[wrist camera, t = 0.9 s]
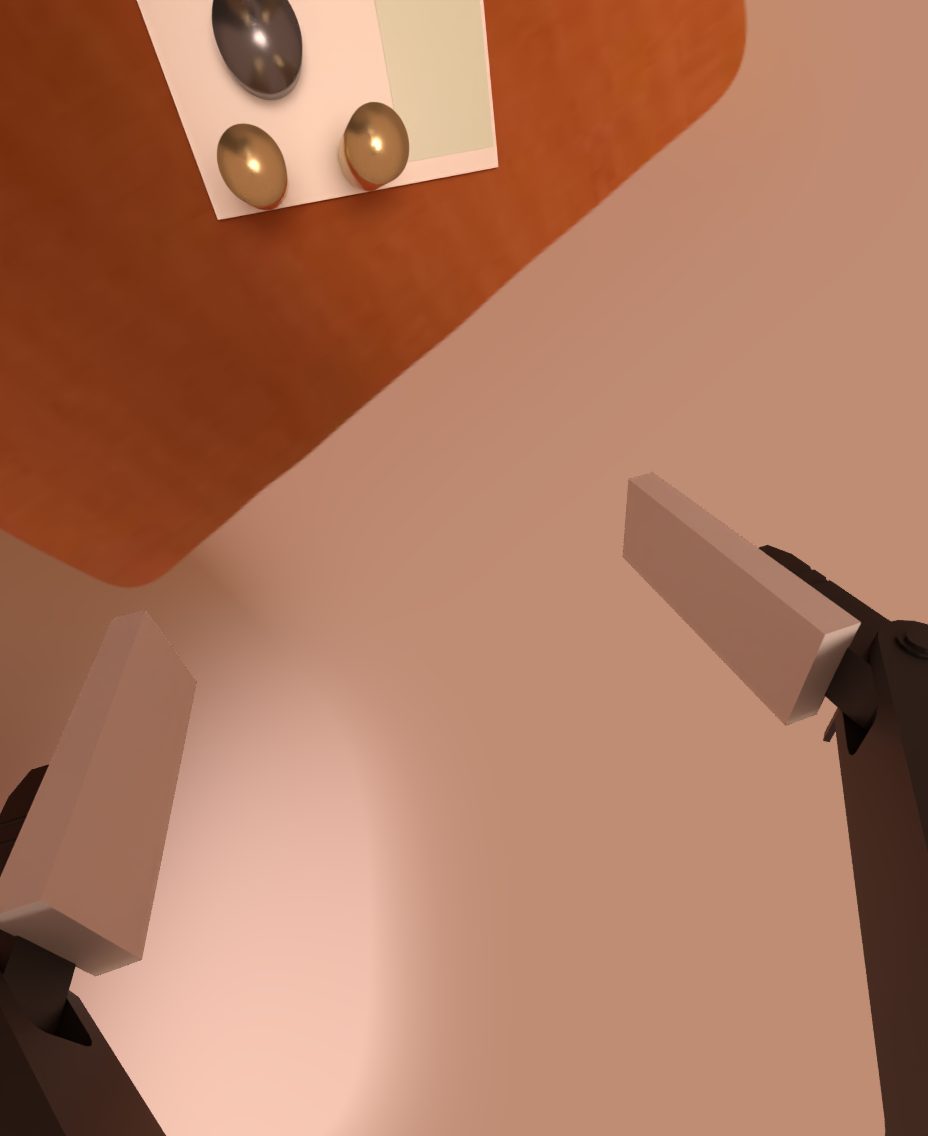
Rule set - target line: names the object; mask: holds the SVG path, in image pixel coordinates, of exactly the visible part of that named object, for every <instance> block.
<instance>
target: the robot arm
mask: <svg viewBox="0 0 928 1136" xmlns="http://www.w3.org/2000/svg"><path fill="white" fill-rule="evenodd" d="M623 558H624V559H625V560H626V561H627V562H628V563H629V564H630V565H631V566H632V567H633V568H634V569H635V570H636V571H637V572H638V573H639V574H640V575H641V576H642V577H643V578H644V579H645V580H646V581H647V582H648V583H649V584H650V585H651V586H652V588H653V589H654V590H655V591H656V592H657V593H658V594H659V595H660V596H661V597H662V598H663V599H664V600H665V601H666V602H667V603H668V604H669V605H670V606H671V607H672V608H673V609H674V610H675V611H676V612H677V613H678V614H679V616H680V617H681V618H682V619H683V620H684V621H685V622H686V623H687V624H688V625H689V626H690V627H691V628H692V629H693V630H694V631H695V632H696V633H697V634H698V635H699V636H700V637H701V638H702V639H703V640H704V642H705V643H706V644H707V645H708V646H709V647H710V648H711V649H712V650H713V651H714V652H715V653H716V654H717V655H718V656H719V657H720V658H721V659H722V660H723V661H724V662H725V663H726V664H727V665H728V666H729V667H730V669H731V670H732V671H733V672H734V673H735V674H736V675H737V676H738V677H739V678H740V679H741V680H742V681H743V682H744V683H745V684H746V685H747V686H748V687H749V688H750V689H751V690H752V691H753V692H754V693H755V694H756V696H757V697H758V698H759V699H760V700H761V701H762V702H763V703H764V704H765V705H766V706H767V707H768V708H769V709H770V710H771V711H772V712H773V713H774V714H775V715H776V716H777V717H778V718H779V719H780V720H781V722H783V723H784V725H785V726H786V725H789V724H792V723H794V722H797V721H800V720H803V719H805V718H808V717H811V716H814V715H816V714H817V712H818V710H819V708H820V706H821V704H822V702H823V700H824V698H825V696H826V697H827V698H828V699H829V700H830V701H831V702H833V703H834V704H835V705H836V706H837V707H838V708H837V710H836V712H835V714H834V716H833V718H832V719H831V721H830V723H829V725H828V727H827V729H826V731H825V734H824V739H823V741H827V742H830V740H831V738H832V736H833V734H834V733H835V732H836V737H837V744H838V753H839V760H840V768H841V776H842V784H843V792H844V800H845V808H846V816H847V824H848V832H849V840H850V848H851V856H852V864H853V871H854V879H855V887H856V895H857V903H858V911H859V918H860V927H861V935H862V943H863V950H864V958H865V966H866V974H867V982H868V990H869V998H870V1005H871V1014H872V1022H873V1030H874V1038H875V1045H876V1054H877V1061H878V1069H879V1077H880V1085H881V1093H882V1101H883V1109H884V1117H885V1130H886V1131H885V1136H928V625H927V624H924V623H920V622H916V621H904V620H897V621H892V622H891V621H889V620H888V619H886V618H884V617H883V616H882V615H880V614H879V613H877V612H876V611H874V610H873V609H871V608H870V607H868V606H867V605H866V604H864V603H863V602H861V601H859V600H858V599H857V598H855V597H854V596H852V595H851V594H849V593H848V592H846V591H845V590H844V589H842V588H841V587H839V586H838V585H836V584H834V583H833V582H832V581H830V580H829V581H827V580H826V577H825V576H823V575H822V574H820V573H819V572H817V571H816V570H811V568H810V566H808V565H807V564H806V563H804V562H803V561H801V560H800V559H798V558H797V557H795V556H794V555H792V554H790V553H788V552H785V551H782V550H780V549H777V548H774V547H772V546H769V545H766V546H763V547H759V548H757V547H756V546H754V545H753V544H752V543H750V542H749V541H747V540H746V539H745V538H743V537H742V536H740V535H739V534H738V533H736V532H735V531H734V530H732V529H731V528H729V527H728V526H727V525H725V524H724V523H722V522H721V521H720V520H718V519H717V518H715V517H714V516H713V515H711V514H710V513H709V512H707V511H706V510H704V509H703V508H701V507H700V506H699V505H697V504H696V503H695V502H693V501H692V500H690V499H689V498H688V497H686V496H685V495H684V494H682V493H681V492H679V491H678V490H677V489H675V488H674V487H672V486H671V485H670V484H668V483H667V482H665V481H664V480H663V479H661V478H660V477H658V476H657V475H655V474H654V473H650V474H645V475H642V476H638V477H634V478H631V479H629V480H628V493H627V506H626V519H625V534H624V546H623ZM196 683H197V681H196V680H195V678H194V677H193V676H192V674H191V673H190V671H189V670H188V669H187V667H186V666H185V664H184V663H183V662H182V660H181V659H180V657H179V656H178V655H177V653H176V652H175V650H174V649H173V648H172V646H171V645H170V643H169V642H168V640H167V639H166V637H165V636H164V635H163V634H162V632H161V631H160V629H159V628H158V626H157V625H156V623H155V622H154V621H153V619H152V618H151V616H150V615H149V613H148V612H147V611H146V610H141V611H138V612H134V613H131V614H127V615H123V616H119V617H115V618H113V619H112V621H111V624H110V626H109V628H108V631H107V633H106V635H105V638H104V640H103V643H102V644H101V647H100V649H99V652H98V654H97V656H96V658H95V661H94V663H93V665H92V667H91V670H90V672H89V674H88V677H87V679H86V681H85V684H84V686H83V688H82V690H81V693H80V695H79V697H78V700H77V702H76V704H75V707H74V709H73V711H72V713H71V716H70V718H69V720H68V723H67V725H66V727H65V729H64V732H63V734H62V736H61V739H60V741H59V743H58V746H57V748H56V750H55V753H54V755H53V757H52V759H51V762H50V764H49V765H45V766H42V767H39V768H36V769H32V770H31V771H30V772H29V773H28V774H27V776H26V777H25V778H24V779H23V780H22V781H21V783H20V784H19V785H18V786H17V788H16V789H15V790H14V791H13V792H12V793H11V795H10V796H9V797H8V799H7V801H6V803H5V805H4V807H3V810H2V812H1V814H0V1136H166V1135H165V1133H164V1132H163V1130H162V1129H161V1127H160V1125H159V1124H158V1123H157V1121H156V1119H155V1118H154V1116H153V1114H152V1113H151V1111H150V1110H149V1108H148V1106H147V1105H146V1103H145V1102H144V1100H143V1099H142V1097H141V1095H140V1094H139V1092H138V1090H137V1089H136V1087H135V1086H134V1084H133V1083H132V1081H131V1079H130V1078H129V1076H128V1075H127V1073H126V1072H125V1070H124V1068H123V1067H122V1065H121V1064H120V1062H119V1060H118V1059H117V1057H116V1056H115V1054H114V1052H113V1051H112V1049H111V1048H110V1046H109V1044H108V1043H107V1041H106V1040H105V1038H104V1036H103V1035H102V1033H101V1032H100V1030H99V1029H98V1027H97V1025H96V1024H95V1022H94V1021H93V1019H92V1017H91V1016H90V1014H89V1013H88V1011H87V1009H86V1008H85V1006H84V1005H83V1003H82V1002H81V1000H80V998H79V997H78V996H76V995H75V994H74V993H72V992H71V991H69V987H70V984H71V980H72V976H73V973H74V969H75V967H78V968H80V969H82V970H84V971H86V972H88V973H90V974H92V975H94V976H99V975H101V974H104V973H107V972H110V971H112V970H115V969H118V968H121V967H123V966H126V965H129V964H131V963H134V962H137V961H140V960H142V956H143V951H144V946H145V940H146V935H147V930H148V925H149V920H150V915H151V910H152V905H153V900H154V895H155V890H156V885H157V880H158V875H159V870H160V864H161V860H162V855H163V850H164V844H165V839H166V834H167V829H168V824H169V819H170V814H171V809H172V804H173V799H174V794H175V789H176V784H177V779H178V774H179V768H180V764H181V758H182V754H183V748H184V743H185V738H186V733H187V727H188V723H189V718H190V713H191V707H192V703H193V698H194V693H195V688H196Z"/></svg>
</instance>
